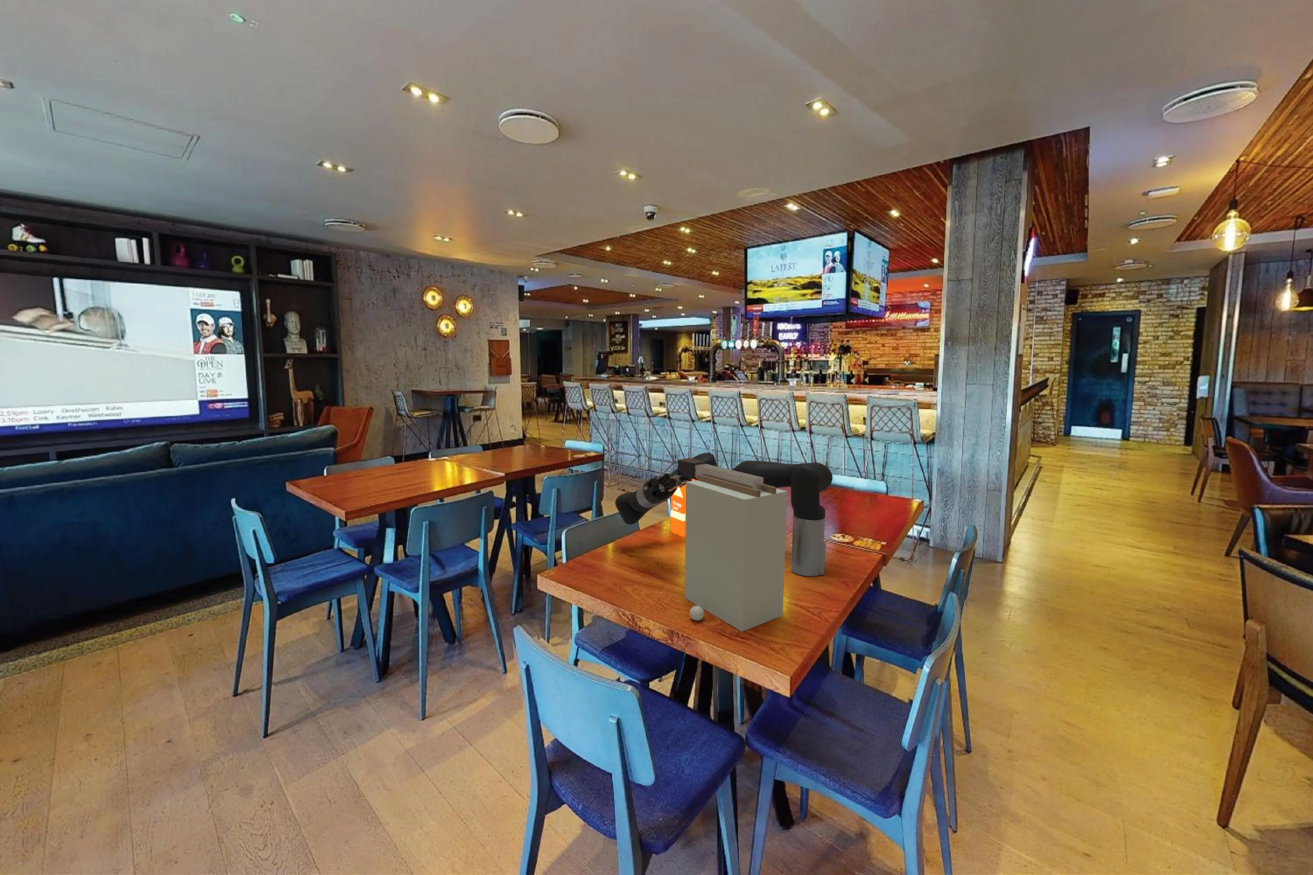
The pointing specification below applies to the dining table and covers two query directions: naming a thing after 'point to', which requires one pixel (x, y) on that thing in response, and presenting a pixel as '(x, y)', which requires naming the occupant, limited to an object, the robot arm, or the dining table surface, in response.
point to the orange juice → (678, 511)
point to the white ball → (696, 613)
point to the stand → (735, 550)
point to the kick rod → (717, 473)
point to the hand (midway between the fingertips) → (680, 474)
